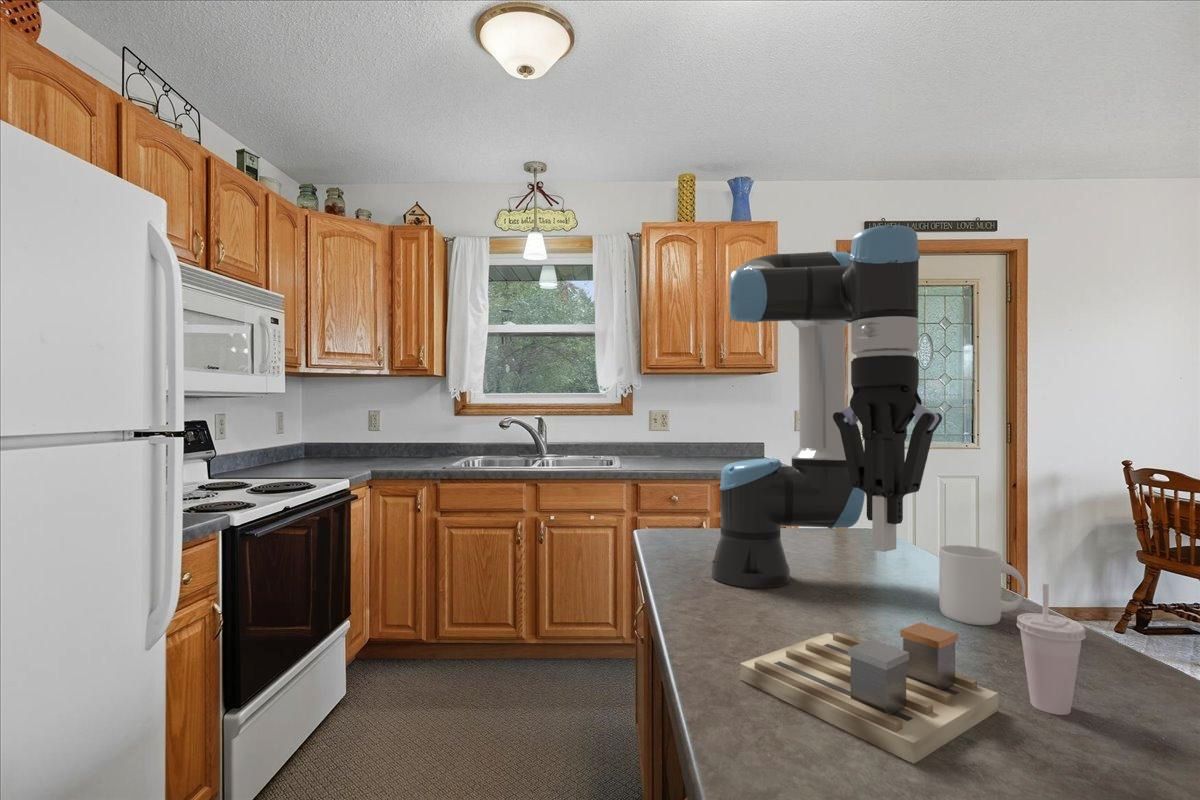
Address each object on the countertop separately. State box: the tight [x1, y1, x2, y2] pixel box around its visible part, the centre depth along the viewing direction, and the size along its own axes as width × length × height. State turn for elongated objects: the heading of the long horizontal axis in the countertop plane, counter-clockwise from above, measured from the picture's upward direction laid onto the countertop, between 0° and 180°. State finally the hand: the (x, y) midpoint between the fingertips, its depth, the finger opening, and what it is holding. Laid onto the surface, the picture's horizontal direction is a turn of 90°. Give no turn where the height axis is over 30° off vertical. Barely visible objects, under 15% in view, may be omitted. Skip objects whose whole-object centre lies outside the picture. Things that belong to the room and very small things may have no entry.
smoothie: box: [1016, 583, 1087, 716], centre depth 70 cm, size 6×6×14 cm
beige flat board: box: [739, 632, 999, 765], centre depth 73 cm, size 22×18×3 cm
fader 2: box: [899, 622, 959, 690], centre depth 72 cm, size 4×4×6 cm
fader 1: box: [848, 639, 909, 715], centre depth 66 cm, size 4×4×6 cm
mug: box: [938, 544, 1026, 626], centre depth 100 cm, size 9×12×11 cm
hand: (884, 549), depth 75 cm, fingers closed
